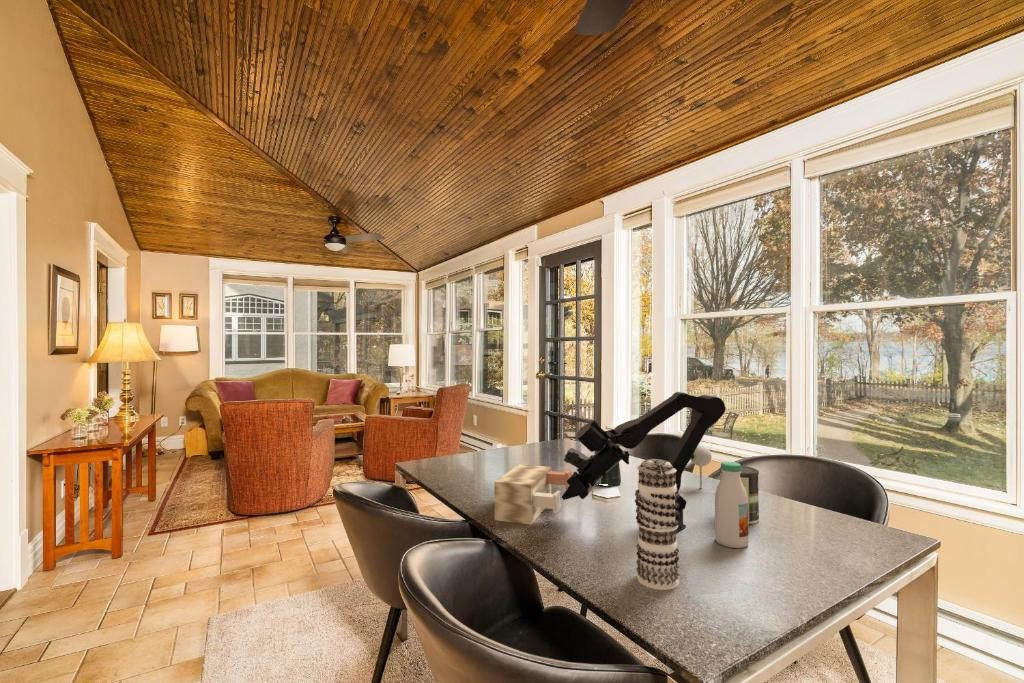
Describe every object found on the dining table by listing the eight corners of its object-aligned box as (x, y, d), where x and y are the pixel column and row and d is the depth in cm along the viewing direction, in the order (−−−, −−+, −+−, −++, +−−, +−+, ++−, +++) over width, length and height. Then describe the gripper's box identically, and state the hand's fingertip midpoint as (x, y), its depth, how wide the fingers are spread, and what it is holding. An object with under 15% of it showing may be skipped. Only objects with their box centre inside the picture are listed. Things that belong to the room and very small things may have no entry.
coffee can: (748, 511, 143) (747, 464, 143) (766, 524, 133) (766, 473, 133) (713, 511, 143) (713, 464, 143) (729, 524, 132) (729, 473, 133)
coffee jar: (612, 479, 178) (611, 430, 178) (624, 485, 171) (624, 433, 171) (589, 482, 175) (589, 431, 175) (601, 488, 167) (600, 435, 168)
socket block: (551, 501, 153) (551, 466, 153) (531, 524, 133) (531, 485, 133) (518, 497, 157) (518, 464, 157) (494, 520, 136) (494, 481, 136)
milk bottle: (729, 550, 115) (728, 467, 115) (708, 538, 123) (707, 460, 123) (755, 547, 117) (754, 465, 118) (733, 535, 125) (732, 458, 125)
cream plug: (560, 507, 136) (560, 490, 136) (556, 513, 131) (556, 495, 131) (520, 503, 140) (520, 487, 140) (515, 508, 135) (515, 491, 135)
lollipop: (685, 486, 169) (685, 444, 169) (702, 484, 171) (702, 443, 171) (699, 492, 162) (698, 448, 162) (716, 490, 164) (716, 447, 165)
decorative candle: (687, 579, 101) (686, 460, 101) (669, 595, 94) (668, 469, 94) (647, 566, 107) (646, 454, 107) (627, 581, 100) (626, 462, 101)
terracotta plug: (571, 484, 150) (571, 469, 150) (568, 489, 146) (568, 473, 146) (535, 481, 154) (535, 466, 154) (531, 485, 150) (530, 470, 150)
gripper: (587, 434, 140) (551, 468, 144) (574, 446, 123) (533, 484, 126) (614, 463, 138) (577, 497, 141) (605, 479, 120) (562, 518, 124)
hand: (562, 498), depth 133 cm, fingers closed
